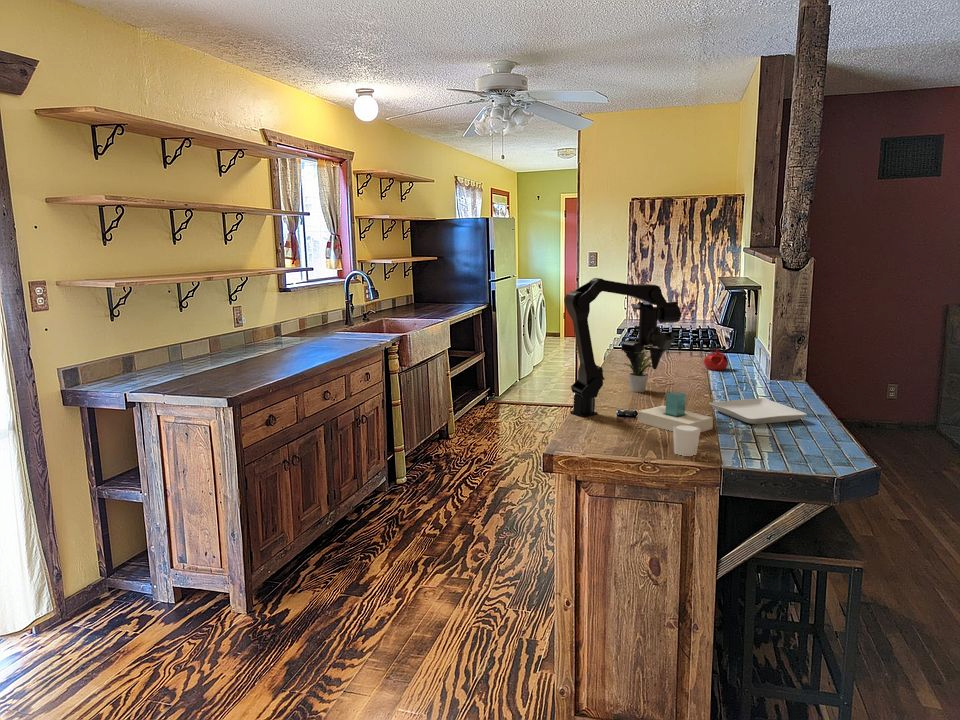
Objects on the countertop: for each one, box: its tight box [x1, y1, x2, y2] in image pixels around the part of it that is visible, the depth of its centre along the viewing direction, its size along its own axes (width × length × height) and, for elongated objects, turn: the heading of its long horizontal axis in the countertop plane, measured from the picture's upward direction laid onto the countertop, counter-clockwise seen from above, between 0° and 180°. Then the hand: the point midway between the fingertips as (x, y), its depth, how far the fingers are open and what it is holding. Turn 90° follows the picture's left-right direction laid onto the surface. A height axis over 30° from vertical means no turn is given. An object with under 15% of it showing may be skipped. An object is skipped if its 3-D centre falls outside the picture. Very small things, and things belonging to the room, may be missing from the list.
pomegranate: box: [703, 348, 729, 372], centre depth 287 cm, size 10×10×9 cm
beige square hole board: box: [637, 405, 714, 433], centre depth 199 cm, size 12×18×4 cm, turn 38°
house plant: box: [621, 348, 653, 393], centre depth 243 cm, size 14×14×16 cm
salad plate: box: [709, 397, 808, 425], centre depth 210 cm, size 21×21×3 cm
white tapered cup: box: [672, 425, 701, 457], centre depth 173 cm, size 7×7×7 cm
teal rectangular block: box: [665, 390, 687, 418], centre depth 199 cm, size 4×4×10 cm
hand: (645, 370), depth 216 cm, fingers open, 9 cm apart
